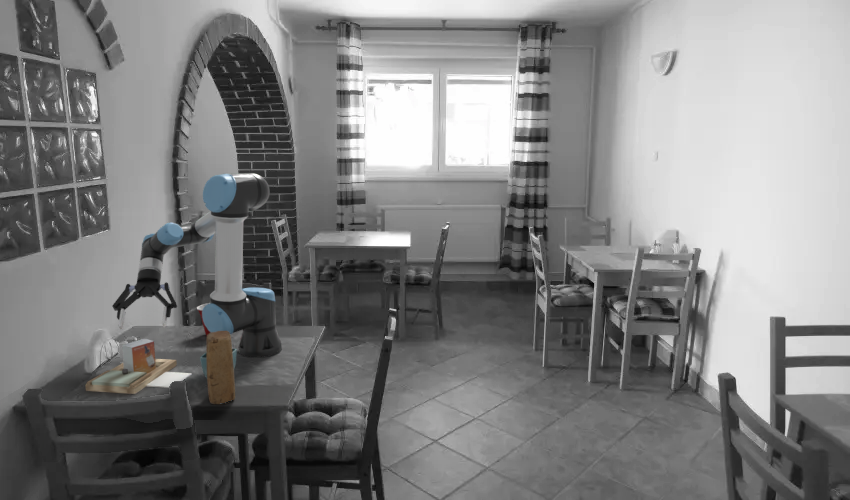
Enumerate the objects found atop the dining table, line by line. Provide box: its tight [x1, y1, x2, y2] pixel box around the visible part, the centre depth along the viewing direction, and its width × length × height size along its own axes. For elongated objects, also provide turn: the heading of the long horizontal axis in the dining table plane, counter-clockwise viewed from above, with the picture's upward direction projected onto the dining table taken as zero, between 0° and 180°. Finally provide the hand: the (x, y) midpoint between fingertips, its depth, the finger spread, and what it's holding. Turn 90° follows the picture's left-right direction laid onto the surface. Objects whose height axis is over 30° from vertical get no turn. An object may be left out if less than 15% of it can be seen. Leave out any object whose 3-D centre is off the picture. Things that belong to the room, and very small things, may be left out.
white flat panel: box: [145, 371, 193, 389], centre depth 184 cm, size 9×11×1 cm
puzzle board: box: [85, 358, 178, 395], centre depth 186 cm, size 16×23×4 cm
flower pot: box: [199, 348, 238, 379], centre depth 184 cm, size 9×9×9 cm
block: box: [205, 331, 236, 405], centre depth 170 cm, size 11×8×20 cm
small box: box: [121, 337, 157, 373], centre depth 189 cm, size 8×6×10 cm
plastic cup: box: [196, 302, 211, 337], centre depth 228 cm, size 11×11×12 cm
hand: (142, 326), depth 196 cm, fingers open, 13 cm apart
